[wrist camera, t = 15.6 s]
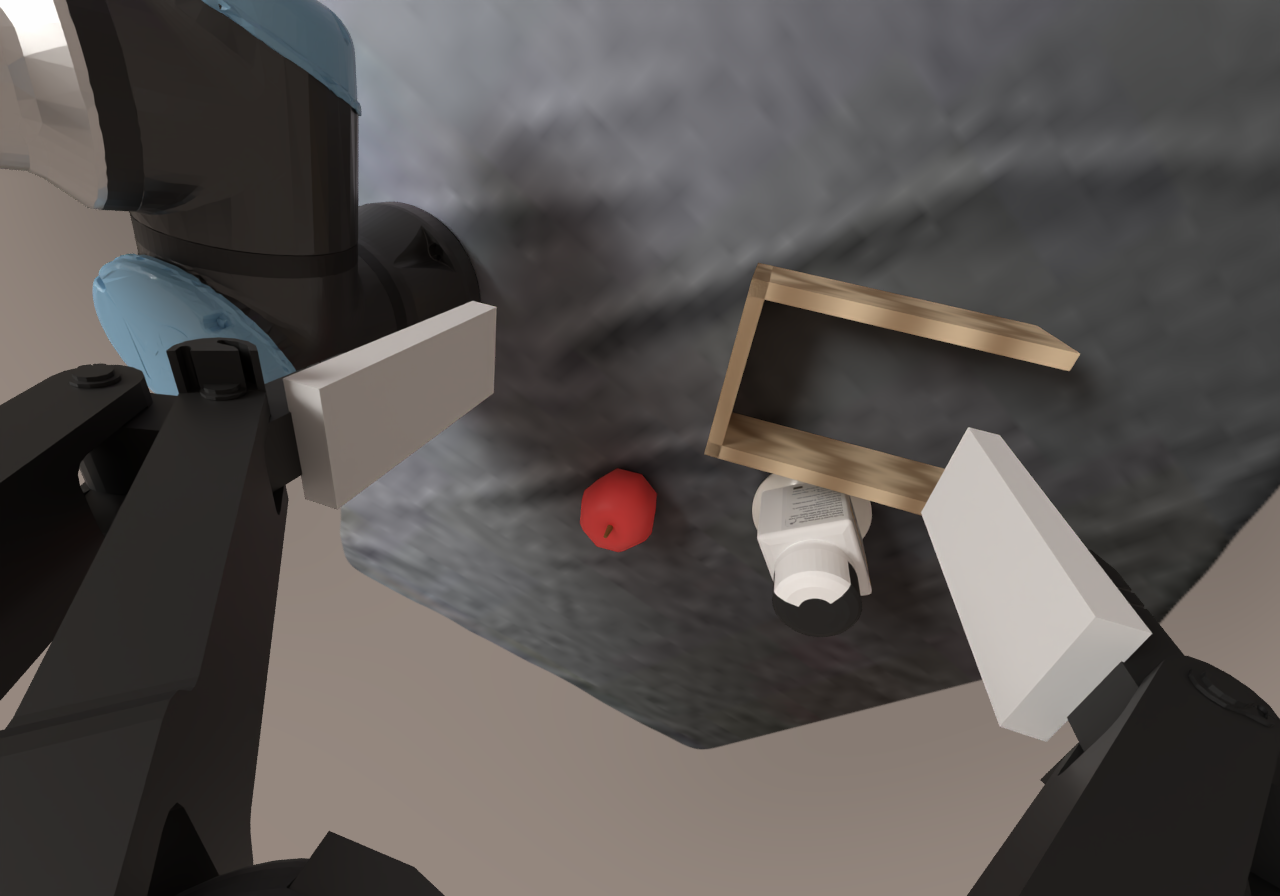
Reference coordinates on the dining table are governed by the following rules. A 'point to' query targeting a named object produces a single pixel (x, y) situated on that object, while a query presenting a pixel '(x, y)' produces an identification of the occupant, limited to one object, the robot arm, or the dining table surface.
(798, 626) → the container
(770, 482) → the trivet
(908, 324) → the tan open-ended frame
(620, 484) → the apple
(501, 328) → the dining table surface
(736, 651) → the dining table surface
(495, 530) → the dining table surface
